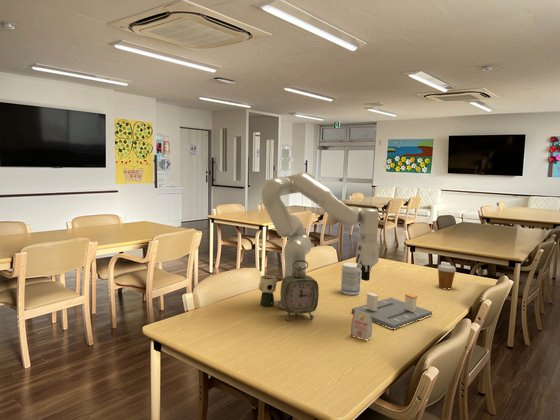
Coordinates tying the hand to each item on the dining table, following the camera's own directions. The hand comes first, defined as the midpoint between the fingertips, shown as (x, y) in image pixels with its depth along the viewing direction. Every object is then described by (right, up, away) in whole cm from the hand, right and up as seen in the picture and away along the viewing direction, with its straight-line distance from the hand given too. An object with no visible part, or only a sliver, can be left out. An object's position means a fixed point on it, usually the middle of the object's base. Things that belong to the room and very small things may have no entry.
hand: (365, 279), depth 173 cm
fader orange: (+21, -15, +6) cm, 26 cm away
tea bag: (-5, -19, -18) cm, 27 cm away
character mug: (-42, -14, +12) cm, 46 cm away
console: (+13, -17, +7) cm, 22 cm away
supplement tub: (0, -13, +35) cm, 37 cm away
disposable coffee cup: (+55, -13, +51) cm, 76 cm away
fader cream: (+4, -14, +5) cm, 15 cm away
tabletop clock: (-29, -16, -1) cm, 33 cm away
